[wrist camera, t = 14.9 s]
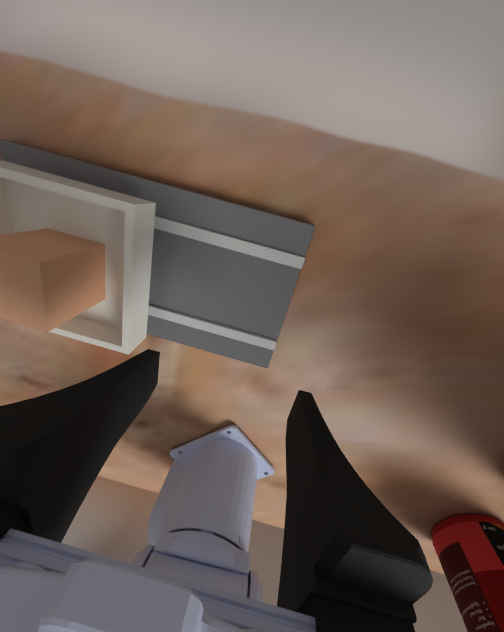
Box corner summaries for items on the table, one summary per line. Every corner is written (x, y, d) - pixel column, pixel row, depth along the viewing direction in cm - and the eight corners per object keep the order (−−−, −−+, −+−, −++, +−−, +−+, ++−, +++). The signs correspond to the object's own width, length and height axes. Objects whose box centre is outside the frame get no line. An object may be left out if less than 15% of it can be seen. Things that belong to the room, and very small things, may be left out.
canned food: (521, 542, 29) (638, 721, 19) (446, 556, 32) (515, 718, 22) (493, 503, 27) (608, 681, 17) (416, 522, 30) (477, 683, 20)
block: (105, 244, 17) (39, 262, 13) (105, 298, 19) (48, 331, 14) (47, 228, 17) (-39, 240, 13) (53, 284, 19) (-21, 312, 15)
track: (314, 224, 18) (318, 230, 15) (268, 361, 23) (265, 383, 21) (12, 141, 18) (-35, 132, 16) (34, 294, 24) (2, 307, 21)
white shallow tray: (164, 202, 17) (134, 204, 14) (153, 329, 22) (128, 354, 18) (20, 162, 17) (-43, 155, 14) (38, 297, 22) (-7, 315, 19)
